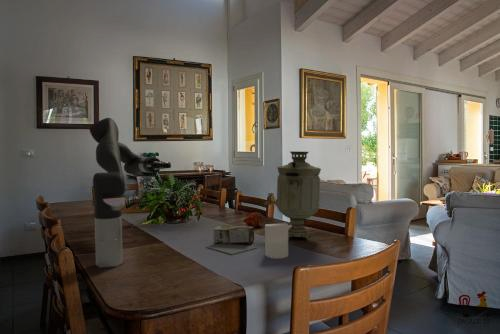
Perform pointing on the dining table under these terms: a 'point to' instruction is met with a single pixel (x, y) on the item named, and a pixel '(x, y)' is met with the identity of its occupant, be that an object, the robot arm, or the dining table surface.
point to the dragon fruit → (254, 219)
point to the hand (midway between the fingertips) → (169, 165)
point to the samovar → (297, 193)
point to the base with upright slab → (276, 240)
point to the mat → (231, 248)
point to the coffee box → (234, 235)
